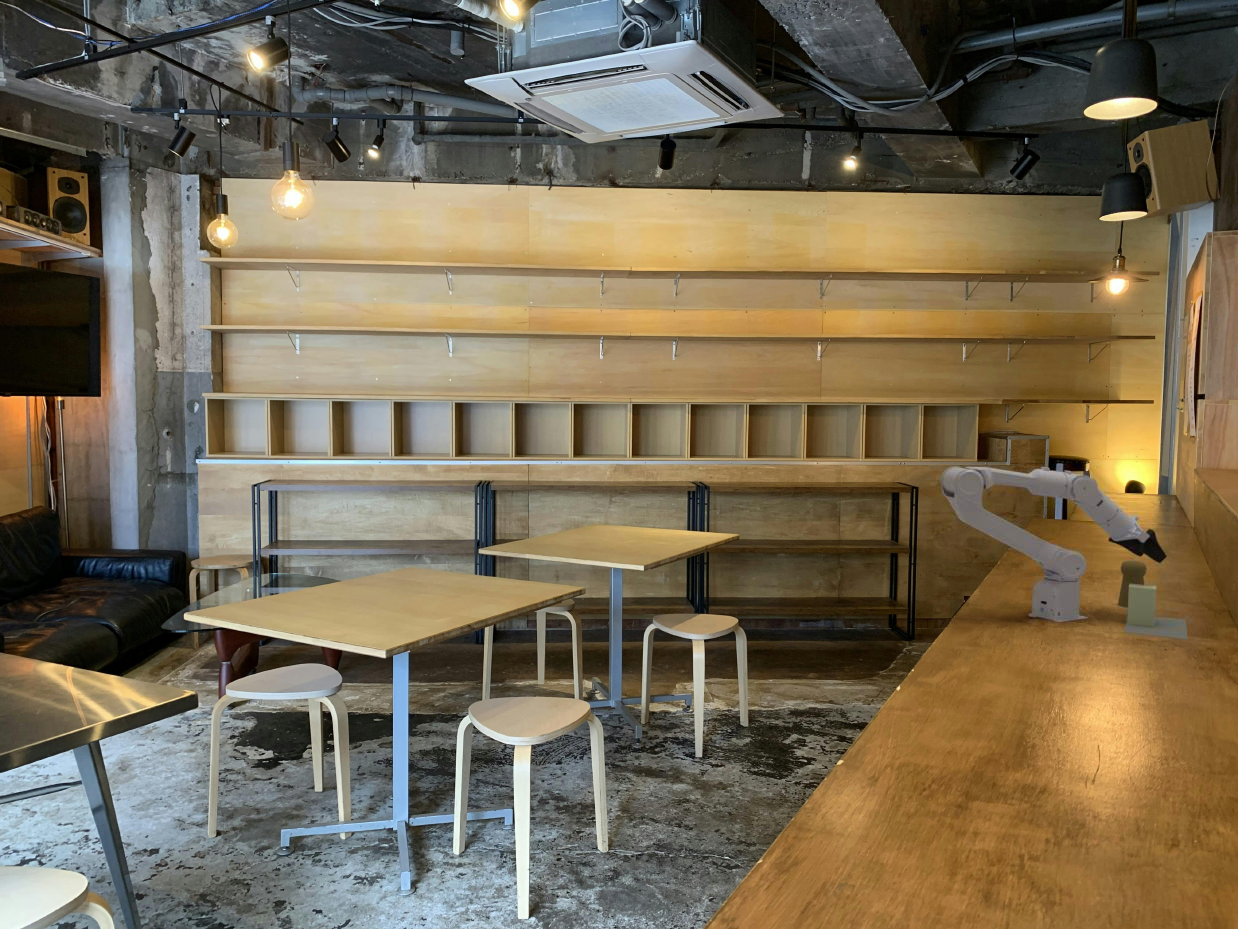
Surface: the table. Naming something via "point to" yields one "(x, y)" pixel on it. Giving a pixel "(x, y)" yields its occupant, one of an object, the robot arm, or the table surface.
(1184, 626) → the mat
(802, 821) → the table surface
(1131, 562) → the cork
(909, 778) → the table surface
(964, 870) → the table surface
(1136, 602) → the block
